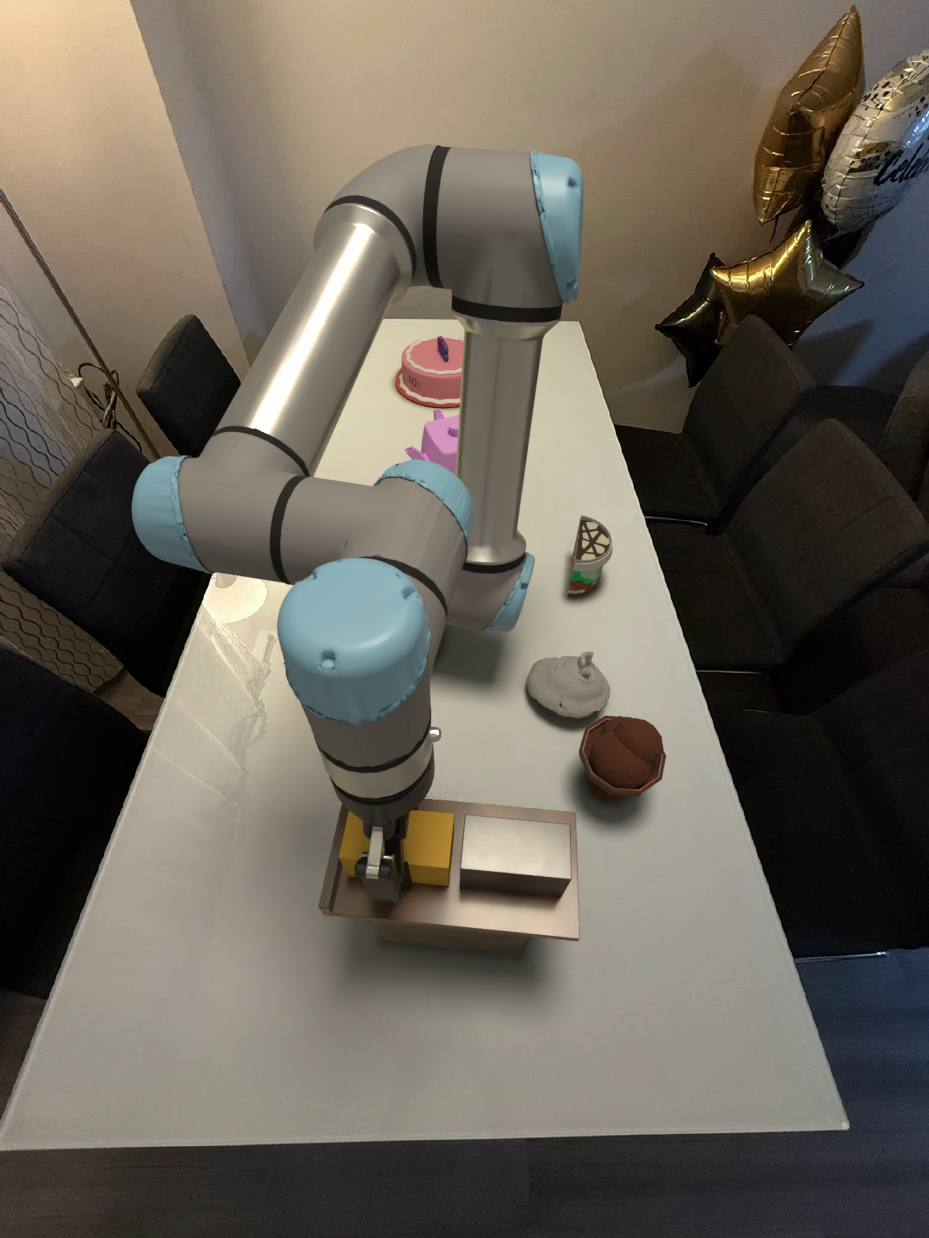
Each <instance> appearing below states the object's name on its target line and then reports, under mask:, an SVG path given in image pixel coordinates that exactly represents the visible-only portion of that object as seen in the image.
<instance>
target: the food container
mask: <svg viewBox="0 0 929 1238" xmlns="http://www.w3.org/2000/svg"><path fill="white" fill-rule="evenodd" d="M578 522H579V523H578V528H577V531H576V532H577V533H576V536H575V540H574V546H573V551H572V555H571V560H570V569H569V576H568V585H567V591H566V592H567V593H566V596H568V597H577V596H578V597H580V596H584V595H586V594H589V593H590V592H592V591H593V589H595V588H596V586H597V583H598V580H599V577H600V576H601V574H602V570H603V567H604V566H605V565H606V564H607V563H608V562H610V560H611V558H612V556H613V551H614V549H613V547H614V546H613V538H612V535H611V533H610V531H609V529H608V528H607V527H606V526H605V525H604V524H603V523H602V522H600V521H599V520H597V519H595V518H593V517H590V516H587V515H580V518H579V521H578Z"/></svg>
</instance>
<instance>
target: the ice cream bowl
mask: <svg viewBox="0 0 929 1238" xmlns="http://www.w3.org/2000/svg"><path fill="white" fill-rule="evenodd" d="M578 748H579V749H578V756H579V758H580V762H581V764H582V766H583V768H584V771H585V773H586V775H587V780H586V782H587V785H588V787H589V789H590V791H591V794H593V795H594V796H595V797H597V798H598V799H600V800H601V801H603V802H617V801H618V800H620V799H621V798H623V797H624V796H628V797H639V796H641V795H642V794H644V793H645V792H646V791H648V790H649V789H651V788H652V787H653V786H655V785H656V784H658V783H659V782H661V781H662V780H663V777H664V776H663V775H664V771H665V765H666V760H667V754H666V751H665V749H664V744H663V736H662V735H661V734H660V731H659V730H658V728H656V726H655V725H654V724H652V723H651V722H649V721H647V719H642V718H637V717H631V716H622V715H603V716H602V717H600V718H599V719H597V720H595V721H594V722H592V723H591V724H589V725H587V726H586V727H585V728H584V731H583V735H582V738H581V741H580V745H579V747H578Z"/></svg>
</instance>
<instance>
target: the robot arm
mask: <svg viewBox="0 0 929 1238" xmlns="http://www.w3.org/2000/svg"><path fill="white" fill-rule="evenodd" d="M583 175H584V174H583V172H582V169H581V167H580V166H579V164H578V163H577V162H576V161H575V160H573V159H572V158H570V157H566V156H561V155H554V154H549V153H544V152H538V151H537V150H532V151H521V150H520V151H519V150H505V149H503V150H502V149H489V148H475V147H474V148H472V147H458V146H443V145H442V146H441V145H439V144H426V143H425V144H419V145H413V146H408V147H405V148H402V149H400V150H397V151H394V152H391V153H390V154H388V155H386V156H384V157H382V158H380V159H378V160H376V161H375V162H374V163H372V164H370V165H369V166H368V167H366V168H365V169H364V170H362V171H360V172H359V173H358V174H356V176H354V177H353V178H352V179H350V180H349V181H348V182H347V183H346V184H344V186H343V187H342V188H340V190H339V191H338V192H337V193H336V195H335V196H334V197H333V199H332V200H331V201H330V202H329V203H328V205H327V207H326V208H325V210H324V211H323V213H322V215H321V217H320V219H319V220H318V222H317V224H316V227H315V229H314V233H313V239H312V241H313V247H312V248H313V254H314V255H313V256H312V258H311V260H310V262H309V264H308V265H307V267H306V269H305V271H304V272H303V273H302V274H303V275H302V276H301V278H300V280H299V281H298V283H297V285H296V286H295V289H294V290H293V292H292V293H291V295H290V297H289V299H288V301H287V303H286V304H285V306H284V308H283V309H282V311H281V313H280V315H279V317H278V318H277V320H276V322H275V323H274V325H273V327H272V328H271V331H270V333H269V335H268V336H267V338H266V340H265V342H264V343H263V345H262V347H261V348H260V351H259V352H258V354H257V355H256V358H255V359H254V361H253V363H252V364H251V366H250V368H249V370H248V372H247V373H246V375H245V377H244V379H243V381H242V382H241V383H240V385H239V388H238V389H237V391H236V393H235V395H234V396H233V398H232V400H231V402H230V403H229V405H228V407H227V409H226V411H225V413H224V414H223V416H222V418H221V419H220V421H219V423H218V425H217V427H216V428H215V430H214V432H213V433H212V435H210V437H209V439H208V441H207V443H206V444H205V446H204V448H203V450H202V451H201V452H200V455H199V456H198V457H192V455H186V454H184V455H180V456H173V455H168V456H163V457H161V458H159V459H157V460H155V461H154V462H151V463H149V464H148V465H147V466H146V467H145V468H144V469H143V471H141V473H140V475H139V477H138V479H137V480H136V483H135V485H134V490H133V494H132V500H131V516H132V523H133V527H134V530H135V533H136V535H137V537H138V539H139V541H140V542H141V544H142V545H143V546H144V548H145V549H146V550H147V552H148V553H149V554H151V555H152V556H153V557H154V558H157V559H159V560H161V561H163V562H167V563H170V564H174V565H177V566H181V567H186V568H189V569H193V570H197V571H199V572H204V573H205V574H210V575H214V574H216V573H218V574H224V575H231V576H237V577H243V578H249V579H254V580H255V579H256V580H263V581H267V582H268V581H269V582H275V583H281V584H286V585H287V586H291V588H289V590H288V592H287V593H286V595H285V596H284V598H283V600H282V602H281V605H280V608H279V611H278V615H277V620H276V630H277V631H276V632H277V638H278V643H279V646H280V651H281V654H282V658H283V665H284V669H285V677H286V680H287V682H288V683H287V684H288V686H289V687H290V689H291V691H292V692H293V694H294V695H295V697H296V700H298V701H299V703H300V705H301V708H302V710H303V712H304V715H305V717H306V720H307V722H308V724H309V726H310V730H311V732H312V735H313V738H314V741H315V744H316V746H317V749H318V753H319V755H320V758H321V761H322V764H323V767H324V769H325V772H326V774H327V775H328V778H329V780H330V783H331V785H332V788H333V790H334V793H335V796H336V797H337V799H338V800H339V802H340V803H341V804H343V805H344V806H345V807H346V808H347V809H348V810H349V811H350V812H352V813H353V814H354V815H356V816H357V817H359V818H360V819H362V821H363V833H364V835H365V837H366V838H368V839H370V847H369V852H366V851H362V852H361V858H360V859H358V861H357V863H356V864H355V868H354V871H355V877H360V878H362V881H363V883H364V886H365V888H366V891H367V893H368V896H369V898H370V900H375V901H385V902H395V903H399V901H400V900H401V898H402V892H401V889H404V890H411V885H412V881H411V876H410V871H409V866H408V862H406V861H404V842H403V839H405V838H406V836H407V830H408V825H409V814H410V811H412V810H418V805H419V804H420V803H421V802H422V801H423V799H424V798H425V799H426V797H427V796H428V794H429V792H430V790H431V788H432V786H433V782H434V779H435V772H436V771H435V770H436V765H435V763H436V762H435V749H434V748H435V747H434V743H436V742H439V741H440V740H441V738H442V734H443V733H442V729H441V728H440V727H438V726H432V700H431V697H432V696H431V681H432V674H433V669H434V665H435V662H436V659H437V653H438V652H439V648H440V645H441V642H442V638H443V635H444V631H445V627H446V624H448V625H453V626H459V627H465V628H470V629H476V630H480V631H481V632H487V631H488V632H490V631H491V632H498V633H508V632H510V631H512V630H513V629H514V628H515V627H516V625H517V624H518V621H519V619H520V616H521V613H522V610H523V606H524V603H525V600H526V597H527V594H528V588H529V585H530V582H531V579H532V575H533V571H534V567H535V561H536V557H535V555H533V554H531V553H530V552H528V551H527V541H526V538H525V536H524V535H523V534H522V533H521V532H520V531H519V530H518V526H519V520H520V512H521V504H522V496H523V491H524V490H523V489H524V483H525V476H526V469H527V468H526V467H527V459H528V454H529V453H528V452H529V444H530V438H531V431H532V423H533V416H534V415H533V414H534V408H535V401H536V394H537V387H538V379H539V371H540V366H541V365H540V363H541V358H542V357H541V356H542V348H543V344H544V343H543V342H544V338H545V336H546V334H547V333H548V332H550V331H551V330H552V329H553V328H554V327H555V326H556V325H558V324H559V323H560V321H561V317H562V312H563V311H562V310H563V306H564V305H563V304H567V305H569V304H571V303H575V302H576V301H577V300H578V298H579V291H580V277H581V265H582V250H583V249H582V247H583V229H584V227H583V226H584V224H583V223H584V197H585V196H584V193H585V191H584V176H583ZM412 287H414V288H415V287H432V288H433V289H442V290H443V289H444V290H451V306H450V307H451V308H450V311H451V313H452V314H453V316H454V317H455V319H456V320H457V321H458V322H459V324H460V325H461V326H462V328H463V338H464V344H463V361H462V377H461V394H460V406H459V412H458V413H459V414H458V415H459V427H458V443H457V459H456V475H455V474H454V473H453V472H451V471H450V470H448V469H447V468H445V467H443V466H441V465H439V464H436V463H433V462H430V461H426V460H412V459H409V460H405V461H403V462H399V463H395V464H393V465H391V466H389V467H388V468H387V469H386V470H385V471H384V472H383V473H382V474H381V476H379V477H378V479H377V480H376V481H375V482H374V483H373V484H372V485H368V484H361V483H355V482H350V481H342V480H335V479H328V478H322V477H315V476H316V475H315V474H316V472H317V470H318V467H319V465H320V463H321V461H322V459H323V456H324V454H325V451H326V450H327V447H328V445H329V443H330V440H331V438H332V437H333V433H334V432H335V429H336V427H337V425H338V424H339V423H338V422H339V421H340V418H341V416H342V413H343V411H344V409H345V407H346V404H347V402H348V400H349V398H350V395H351V394H352V391H353V388H354V386H355V385H356V382H357V380H358V377H359V375H360V373H361V371H362V368H363V366H364V364H365V362H366V360H367V357H368V355H369V353H370V350H371V348H372V346H373V343H374V341H375V339H376V337H377V334H378V332H379V330H380V328H381V325H382V323H383V321H384V318H385V316H386V314H387V311H388V310H389V308H391V307H393V306H394V305H397V304H398V303H399V302H401V301H402V300H403V298H404V297H405V296H406V295H407V293H408V291H409V290H410V288H412Z"/></svg>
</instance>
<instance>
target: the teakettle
mask: <svg viewBox="0 0 929 1238" xmlns="http://www.w3.org/2000/svg"><path fill="white" fill-rule="evenodd" d="M432 412H433V420H430V421H427V422H425V423H424V427H423V431H422V436H421V437H422V438H421V445H420V446H421V447H420V450H418V449H416V447H414V446H413V445H410V446H408V447H406V448H404V452H405V453H406V455H407V456H408V457H409V458H410V460H426V461H430V462H433V463H436V464H439V465H441V466H443V467H445V468H447V469H448V470H450V471H451V472H453V473H454V474H455V475H456V459H457V443H458V427H459V414H457V415H453V416H448V417H445V416H444V414H443V411H442V410H441V409H440V408H436V409H433V411H432Z"/></svg>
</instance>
